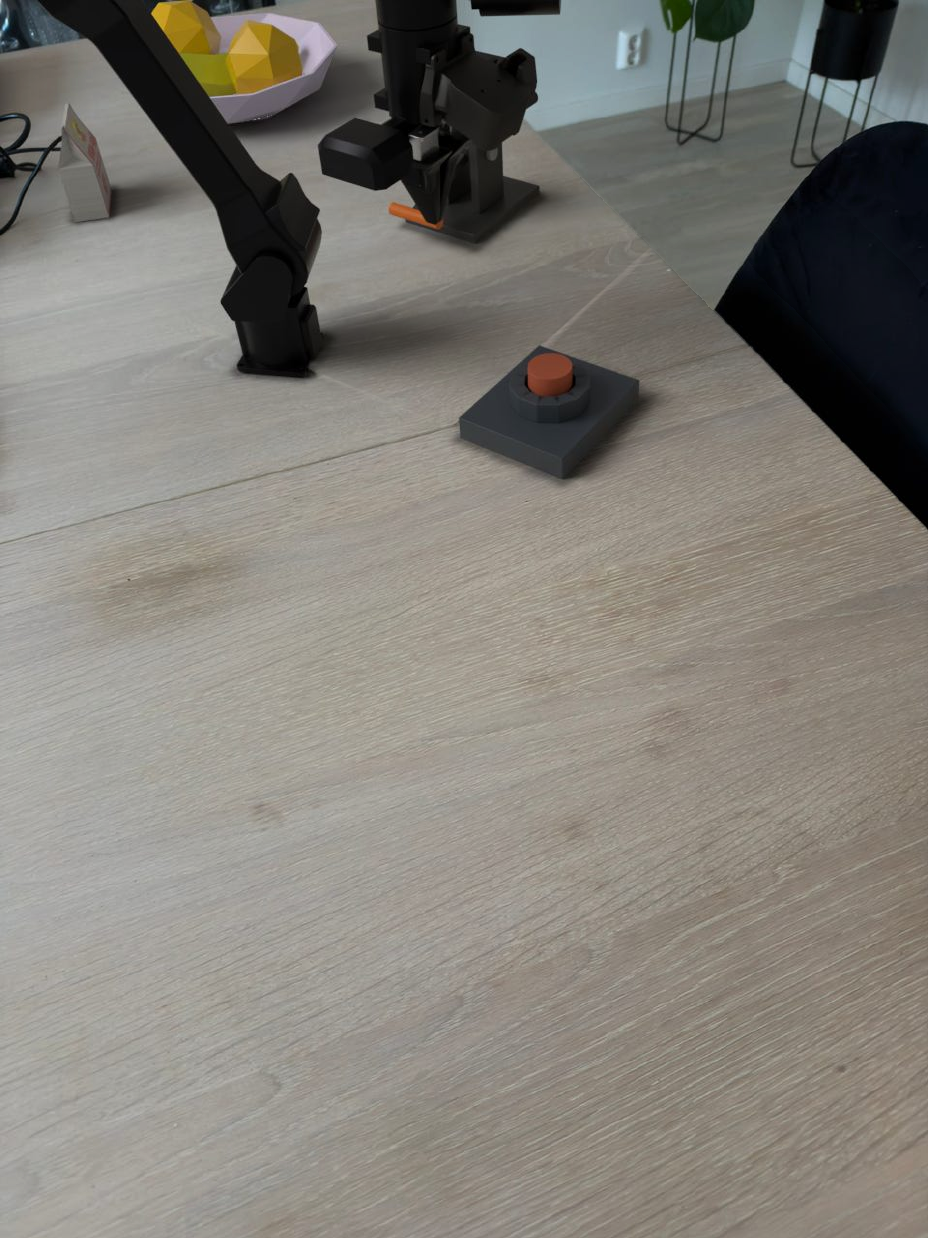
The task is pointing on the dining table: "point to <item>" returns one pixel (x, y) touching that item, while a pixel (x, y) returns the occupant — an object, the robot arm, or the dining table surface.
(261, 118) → the fruit bowl
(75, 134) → the small milk carton
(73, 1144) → the dining table surface
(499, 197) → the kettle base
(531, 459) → the socket block
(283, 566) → the dining table surface
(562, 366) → the button
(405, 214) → the switch lever
